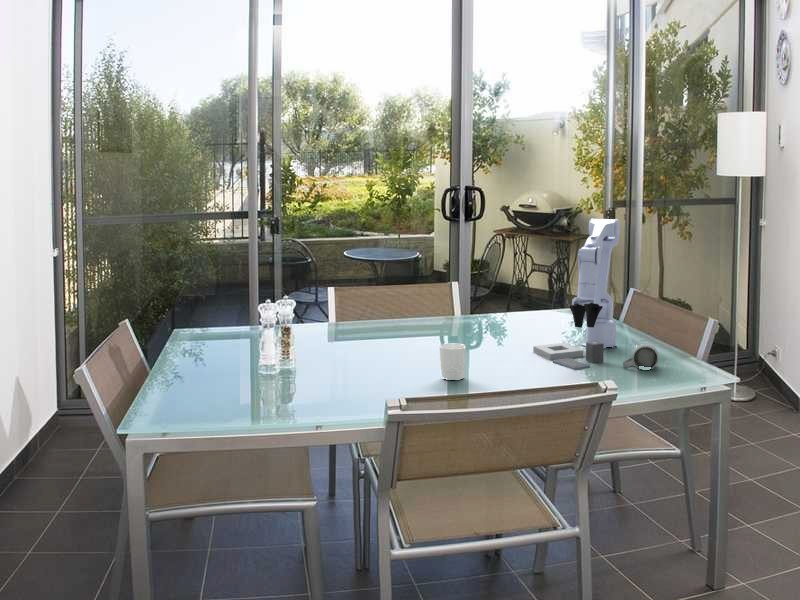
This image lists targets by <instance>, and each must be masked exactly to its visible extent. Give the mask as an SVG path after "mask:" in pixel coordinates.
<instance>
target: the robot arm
mask: <svg viewBox="0 0 800 600" xmlns="http://www.w3.org/2000/svg"><path fill="white" fill-rule="evenodd" d="M620 233H621V222H620V220H619V219H618V218H615V219H614V218H613V219H612V218H610V219H609V218H591V219H590V220H589V222H588V234H589V236H588V237H587V239H586V240H585V243H584V245H583V246H582V247H581V248H579V249H578V251H577V263H578V264H577V270H578V279H577V280H578V285H577V295H576V296H575V297H573V298H572V299H571V300H572V301H571V305H569V310H570V311H571V314H572V316H573V317H572V319H573V323H574V327H575V328H582V327H583V324H584V320H585V322H586V336H585V338H586V339H585V340H586V342H593V341H598V342H601V343H603V344H604V349H607V348H606V347H612V346H617V347H618V345H617V327H616V324H615V321H614V320H612V319H613V317H614V299H613V297H612V296H611V295H610V294H609V293H607V292H608V291H607V290H608V282H609V274H610V273H609V272H610V265H611V258H612V257H611V256H612V252H613V249H614V247H617V246H618V245H619V242H620V236H621V235H620ZM586 342H584V343H580V345H581V346H583V347H585V348H586ZM612 348H613V347H612Z"/></svg>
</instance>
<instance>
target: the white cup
mask: <svg viewBox="0 0 800 600" xmlns="http://www.w3.org/2000/svg"><path fill="white" fill-rule="evenodd" d="M466 349H467V345H465V344H464V343H460V342H459V343H457V342H450V343H449V342H448V343H443V344H440V345H439V357H440V358H439V360H440V370H441V378H442V377H444V378H447V379H454V380H456V379H462V378H464V379H465V373H466V372H465V371H466V356H467V355H466V353H467V350H466Z"/></svg>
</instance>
